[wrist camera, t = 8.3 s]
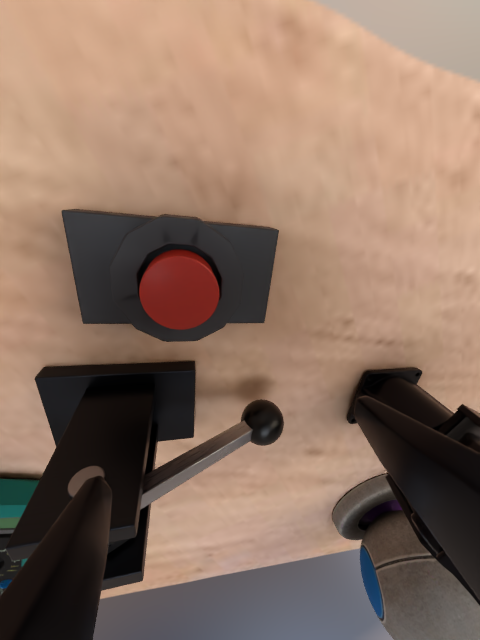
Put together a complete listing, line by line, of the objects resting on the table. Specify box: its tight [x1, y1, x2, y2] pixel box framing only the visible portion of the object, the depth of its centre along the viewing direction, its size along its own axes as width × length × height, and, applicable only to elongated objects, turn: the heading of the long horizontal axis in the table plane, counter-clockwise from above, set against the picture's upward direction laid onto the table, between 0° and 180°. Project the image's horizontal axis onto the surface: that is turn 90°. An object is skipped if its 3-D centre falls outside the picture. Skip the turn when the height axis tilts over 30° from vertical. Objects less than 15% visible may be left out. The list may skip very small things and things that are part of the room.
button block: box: [62, 209, 279, 342], centre depth 14 cm, size 11×6×4 cm, turn 84°
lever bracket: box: [5, 361, 196, 591], centre depth 15 cm, size 10×7×10 cm
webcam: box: [332, 474, 480, 640], centre depth 29 cm, size 13×13×15 cm
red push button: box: [139, 249, 219, 330], centre depth 12 cm, size 4×4×2 cm
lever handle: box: [107, 399, 284, 554], centre depth 15 cm, size 14×3×3 cm, turn 84°
